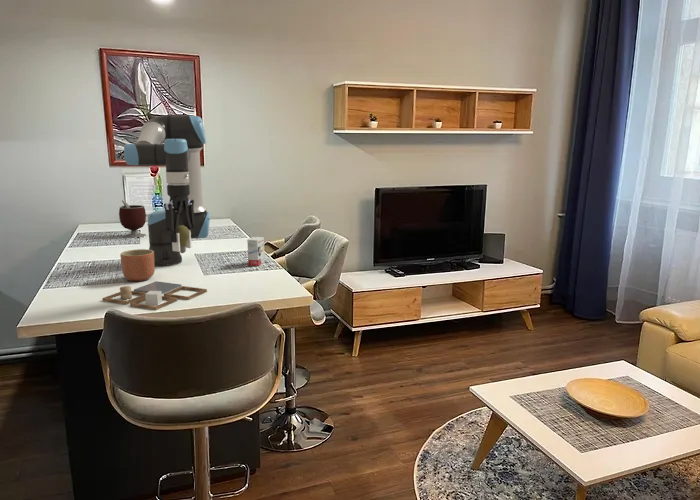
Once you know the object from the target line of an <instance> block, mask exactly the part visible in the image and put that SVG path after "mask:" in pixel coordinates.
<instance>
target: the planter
mask: <svg viewBox="0 0 700 500" xmlns="http://www.w3.org/2000/svg"><path fill="white" fill-rule="evenodd" d="M120 263H121V271H122V275H123V277H124V278H125V279H126V280H129V281H131V282H141V281H142V282H144V281H147V280H149V279H151V278H152V277H153V275H154V274H155V270H156V269H155V267H156V266H155V264H154V251H153V250H149V249H146V248H145V249H144V248H141V249H129V250H125V251H121V253H120Z"/></svg>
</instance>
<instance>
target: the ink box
mask: <svg viewBox="0 0 700 500" xmlns="http://www.w3.org/2000/svg"><path fill="white" fill-rule="evenodd" d="M246 243H247V263H248V266H249V267H250V266H251V267H260V266H261V265H262V264H264V263H265V262H266V261H265V258H266V257H265V237H263V236H252V237H250V238H248V239H247V242H246Z"/></svg>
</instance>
